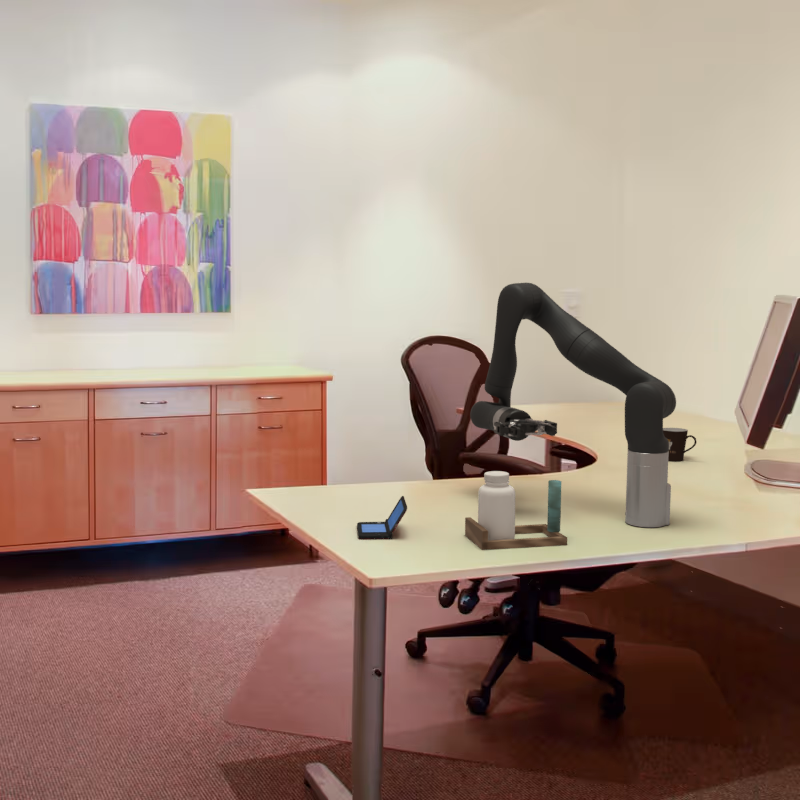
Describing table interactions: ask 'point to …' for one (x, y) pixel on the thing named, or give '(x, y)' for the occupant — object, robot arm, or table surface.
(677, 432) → the coffee mug
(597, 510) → the table surface
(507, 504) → the pill bottle
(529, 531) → the brown wooden frame
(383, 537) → the handheld game console
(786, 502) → the table surface
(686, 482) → the table surface
